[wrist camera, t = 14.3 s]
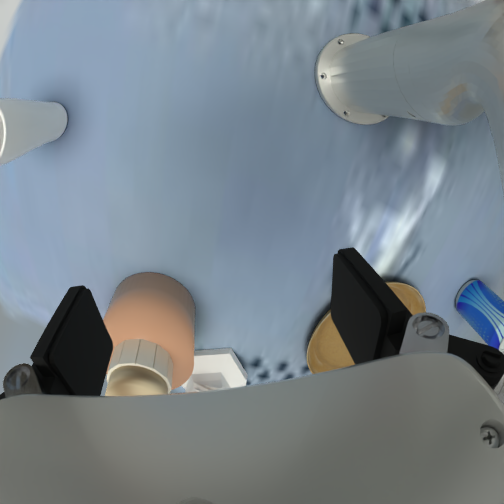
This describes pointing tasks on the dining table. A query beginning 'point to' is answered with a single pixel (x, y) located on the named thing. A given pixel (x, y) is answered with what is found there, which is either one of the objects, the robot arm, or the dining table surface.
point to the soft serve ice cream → (215, 371)
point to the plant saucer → (331, 344)
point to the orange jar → (152, 327)
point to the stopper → (135, 382)
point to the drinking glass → (28, 126)
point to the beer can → (482, 312)
